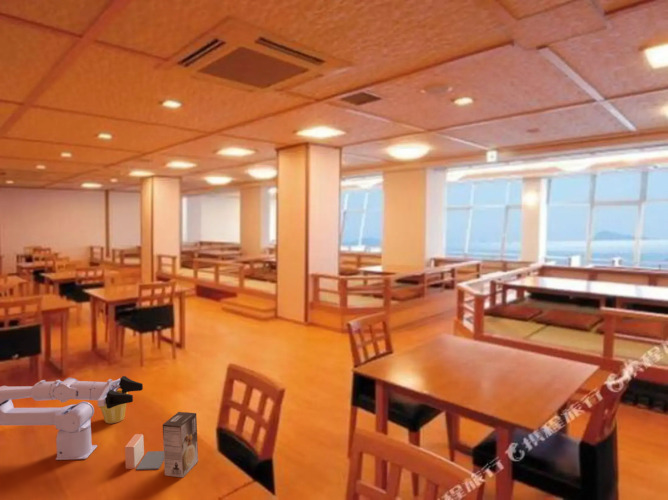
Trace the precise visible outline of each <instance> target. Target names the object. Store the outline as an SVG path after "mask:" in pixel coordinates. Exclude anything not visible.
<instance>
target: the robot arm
mask: <svg viewBox="0 0 668 500" xmlns="http://www.w3.org/2000/svg"><path fill="white" fill-rule="evenodd" d="M117 390H122V393H119V392H117ZM143 390H144V388H143V383H141V382H138V381H135V380H133V379H131V378H129V377H127V376H126V375H122V377H119V378H118V379H115V380H113V379H112V378H109V379H108V380H107V381H89V380H88V381H86V380H78V379H77V378H74V377H67V378H65V379H64V380H63V381H62V380H60V379H56V380H54V381H46V379H42V380H40V381H38V382H36V383H35V384H34V385H32V386H29V385H26V386H23V385H21V386H19V385H17V386H7V385H2V386H0V426H55V429H56V430H58V432H57V435H56V440H55V441H56V442H55V443H56V457H55V461H62V460H63V461H65V460H67V461H68V460H86V459H88V458H89V457H90V456H91V454H92V453H93V452H94V451H95V449H97V447H98V444H92V441H93V440H92V427H91V426H92V425H91V423H92V421H91V420H92V417H93V416H94V414H95V408H94V406H93V404H92V403H90V402H88V401H97V407H99V406H105V404H106V406H107V409H110V408H112V407H114V406H117V405H120V404H125V403H126V404H130V403H133V401H134V395H133V394H130V393H129V392H139V391H143ZM126 392H128V394H123V393H126ZM26 398H27V399H28V398H32V400H34V401H36V402H37V401H39V402H40V401H55V400H57V401H60V403H66V402H68V401H69V400H81V402H80V401H79V402H78V403H76V404H70V405H69V404H68V405H65V406H63V407H14V403H13V400H18V399H20V400H21V399H26ZM85 400H86V401H85Z"/></svg>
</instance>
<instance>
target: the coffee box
mask: <svg viewBox="0 0 668 500" xmlns="http://www.w3.org/2000/svg"><path fill="white" fill-rule="evenodd" d="M197 422H198V421H197V412H186V411H185V412H184V411H183V412H182V411H178V412H177V413H175V414H174V415H173V416H172V417H170V418H169V419H168V420H167V421H165V422H164V423H162V440H163V441H162V444H163V451H164V461H163V465H164V466H163V467H164V476H166V477H167V476H168V477H176V478H184V477H185V476H186V475H187V474H188V473H189V472H190V471H191V470H192V469H193V467H194V466H195V465H196V464H197V463H199V453H198V452H199V450H198V426H197V425H198V424H197Z"/></svg>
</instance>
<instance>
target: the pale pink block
mask: <svg viewBox="0 0 668 500" xmlns="http://www.w3.org/2000/svg"><path fill="white" fill-rule="evenodd" d="M144 440H145V439H144V435H143V433H137V434H136V433H135V434H134V435H133V436H132V438H131V439H130V440H129V441H128V443H127V444H126V445H125V447H124V451H125V452H124V455H125V459H124V460H125V469H126V470H127V469H128V470H130V469H131V470H132V469H136V468H137V466H138V465H139V463H140V462H141V461H142V459H143V458H144V456H145V446H144V445H145V444H144Z"/></svg>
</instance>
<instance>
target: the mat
mask: <svg viewBox="0 0 668 500" xmlns="http://www.w3.org/2000/svg"><path fill="white" fill-rule="evenodd" d="M162 464H164V450H159V451H158V450H155V451H147V452H146V453H145V454H144V455H143V457H142V458H141V460H140V461H139V463H138V464H137V466H136V467H135V470H136V471H145V470H146V471H150V470H153V471H154V470H159V469H160V468H161V467H162Z"/></svg>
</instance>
